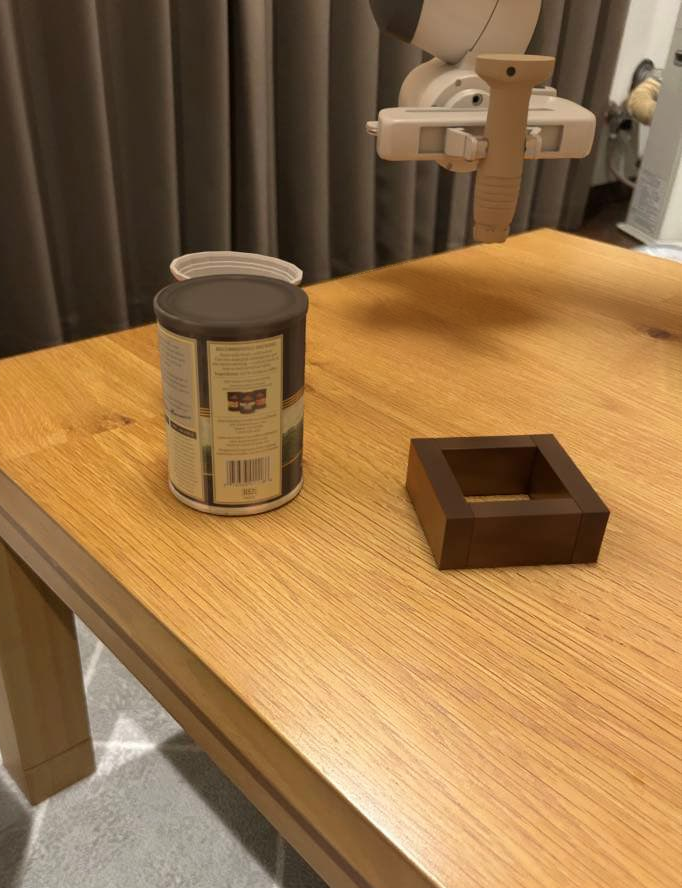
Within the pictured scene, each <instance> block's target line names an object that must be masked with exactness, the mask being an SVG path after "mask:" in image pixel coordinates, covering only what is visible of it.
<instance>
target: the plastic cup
mask: <svg viewBox="0 0 682 888" xmlns="http://www.w3.org/2000/svg"><path fill="white" fill-rule="evenodd" d="M169 269H170V272H171V274H172V275H173V276H174V278H175V283H176V282H179V281H182V280H186V279H190V278H195V277H201V276H208V275H218V274H249V275H260V276H266V277H272V278H276V279H281V280H284V281H287V282H289V283H292V284H294V285H296V286H299V285H300V284H301V282H302V279H303V270H302V269H300V268H299V267H297V266H296V265H295V264H293V263H291V262H288V261H286V260H282V259H280V258H277V257H272V256H267V255H263V254H259V253H252V252H251V253H250V252H239V251H230V250H229V251H226V250H225V251H201V252H194V253H186V254H184V255H181V256H179V257H176V258H173V260H172V262H171V263H170V265H169Z"/></svg>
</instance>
